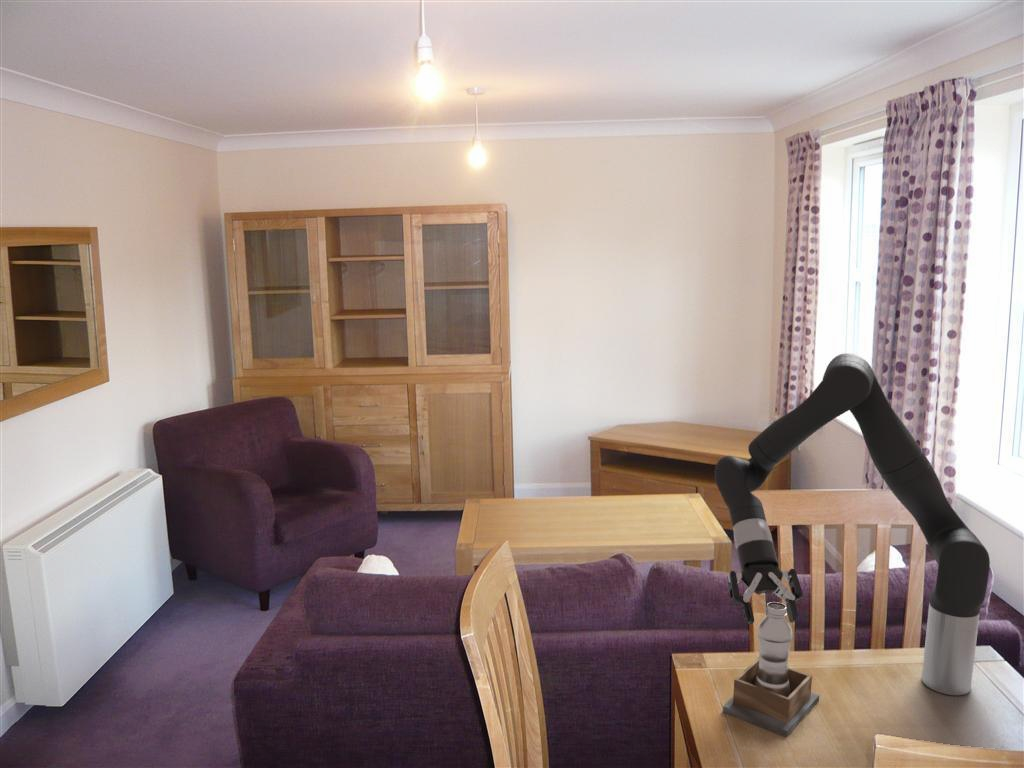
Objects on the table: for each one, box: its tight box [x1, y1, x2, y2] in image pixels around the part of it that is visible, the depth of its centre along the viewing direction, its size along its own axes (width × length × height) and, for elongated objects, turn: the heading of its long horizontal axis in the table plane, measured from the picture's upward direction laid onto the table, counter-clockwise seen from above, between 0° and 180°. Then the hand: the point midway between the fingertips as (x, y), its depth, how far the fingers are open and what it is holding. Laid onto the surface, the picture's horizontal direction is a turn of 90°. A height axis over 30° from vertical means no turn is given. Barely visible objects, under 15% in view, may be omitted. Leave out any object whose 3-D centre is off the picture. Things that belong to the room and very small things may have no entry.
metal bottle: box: [755, 601, 794, 697], centre depth 170 cm, size 6×7×20 cm
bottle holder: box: [722, 656, 820, 738], centre depth 172 cm, size 16×13×6 cm
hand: (772, 622), depth 171 cm, fingers open, 8 cm apart
